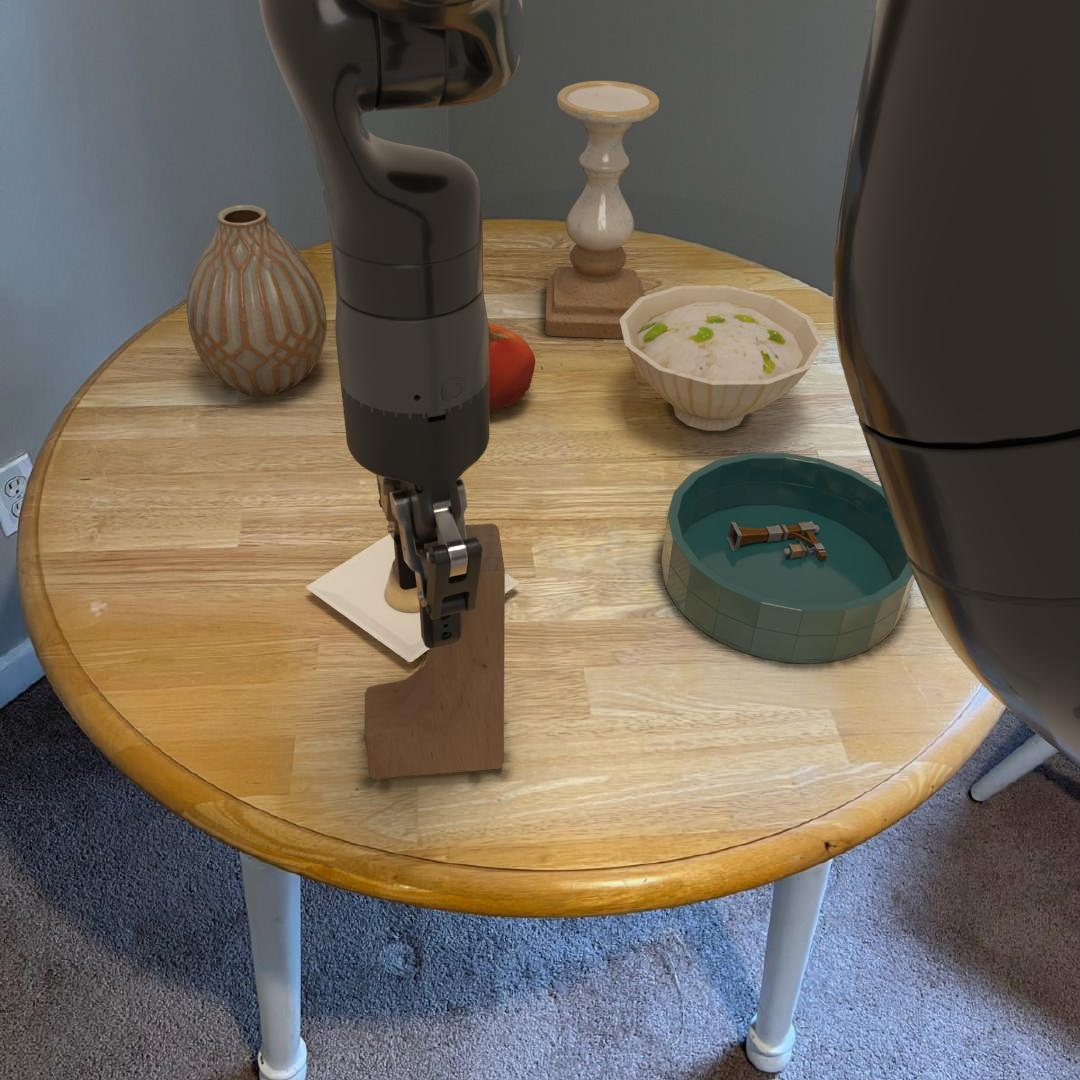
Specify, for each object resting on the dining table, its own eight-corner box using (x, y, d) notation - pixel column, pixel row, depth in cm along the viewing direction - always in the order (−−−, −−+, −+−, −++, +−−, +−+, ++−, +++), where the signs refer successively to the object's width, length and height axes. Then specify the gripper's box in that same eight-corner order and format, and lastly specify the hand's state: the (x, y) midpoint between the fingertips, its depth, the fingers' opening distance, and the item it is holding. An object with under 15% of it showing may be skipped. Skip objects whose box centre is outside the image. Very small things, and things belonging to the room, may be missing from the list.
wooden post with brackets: (839, 548, 90) (818, 514, 94) (748, 555, 89) (730, 519, 92) (833, 565, 91) (812, 530, 95) (743, 571, 90) (725, 536, 93)
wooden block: (369, 781, 73) (344, 579, 61) (369, 729, 76) (346, 528, 64) (504, 770, 73) (505, 570, 62) (498, 719, 77) (498, 520, 65)
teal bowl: (954, 627, 86) (974, 575, 82) (734, 690, 80) (745, 637, 77) (819, 484, 100) (830, 434, 96) (623, 530, 94) (628, 478, 90)
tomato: (505, 366, 114) (505, 297, 109) (552, 408, 108) (555, 337, 103) (426, 390, 110) (422, 319, 105) (471, 435, 104) (470, 362, 99)
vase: (239, 429, 104) (208, 258, 93) (178, 371, 112) (143, 207, 100) (357, 385, 111) (341, 220, 99) (292, 333, 118) (271, 175, 107)
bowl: (584, 375, 113) (589, 287, 107) (752, 349, 118) (766, 263, 112) (657, 483, 99) (668, 389, 93) (844, 449, 104) (866, 357, 98)
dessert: (306, 597, 87) (299, 551, 83) (416, 527, 94) (413, 482, 90) (410, 673, 81) (407, 626, 78) (520, 592, 88) (521, 546, 85)
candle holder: (645, 339, 119) (667, 117, 104) (544, 336, 119) (551, 113, 104) (640, 292, 127) (660, 80, 112) (546, 289, 128) (553, 76, 112)
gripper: (310, 313, 59) (339, 553, 70) (378, 460, 49) (400, 713, 60) (443, 293, 61) (451, 528, 72) (535, 429, 51) (528, 678, 62)
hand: (428, 611), depth 66 cm, fingers closed on wooden block, 4 cm apart
